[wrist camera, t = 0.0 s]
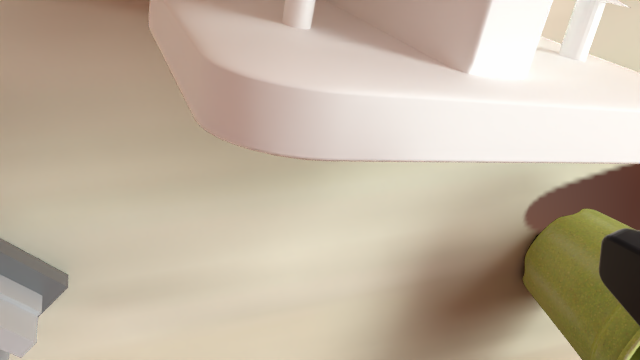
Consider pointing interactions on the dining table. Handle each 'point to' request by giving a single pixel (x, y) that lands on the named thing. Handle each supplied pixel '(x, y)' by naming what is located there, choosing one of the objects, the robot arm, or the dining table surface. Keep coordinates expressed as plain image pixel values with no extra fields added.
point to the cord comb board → (24, 297)
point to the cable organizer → (401, 80)
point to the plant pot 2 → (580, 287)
